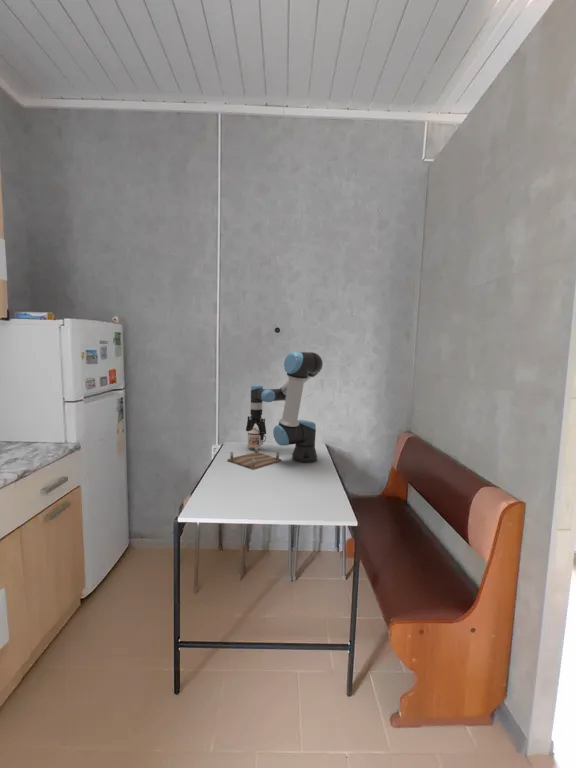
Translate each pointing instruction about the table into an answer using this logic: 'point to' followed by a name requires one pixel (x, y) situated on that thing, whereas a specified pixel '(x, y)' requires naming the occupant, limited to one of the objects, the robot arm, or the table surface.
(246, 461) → the stub plate
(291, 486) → the table surface
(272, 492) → the table surface
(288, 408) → the robot arm
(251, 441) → the teacup with lid
